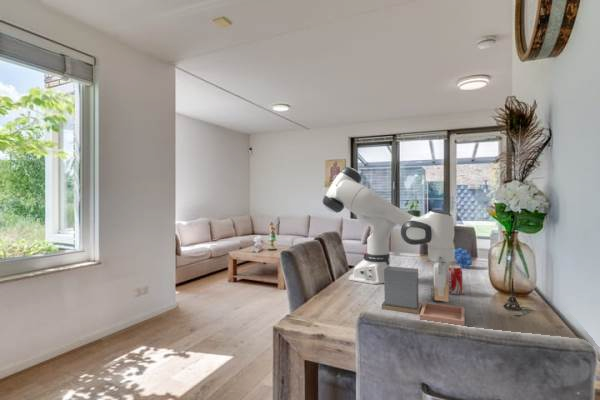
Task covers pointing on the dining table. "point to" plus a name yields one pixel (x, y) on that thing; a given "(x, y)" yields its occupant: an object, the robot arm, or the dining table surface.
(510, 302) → the eiffel tower figurine
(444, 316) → the tray
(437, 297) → the oak wood brick
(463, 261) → the grapes
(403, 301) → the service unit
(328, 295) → the dining table surface
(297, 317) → the dining table surface
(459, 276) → the soda can
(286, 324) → the dining table surface
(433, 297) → the steel cylinder
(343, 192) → the robot arm
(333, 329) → the dining table surface
